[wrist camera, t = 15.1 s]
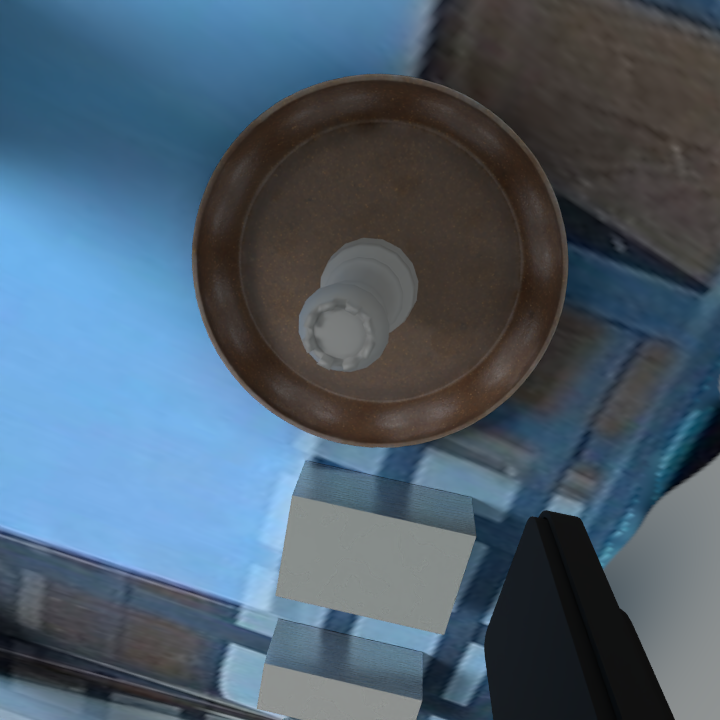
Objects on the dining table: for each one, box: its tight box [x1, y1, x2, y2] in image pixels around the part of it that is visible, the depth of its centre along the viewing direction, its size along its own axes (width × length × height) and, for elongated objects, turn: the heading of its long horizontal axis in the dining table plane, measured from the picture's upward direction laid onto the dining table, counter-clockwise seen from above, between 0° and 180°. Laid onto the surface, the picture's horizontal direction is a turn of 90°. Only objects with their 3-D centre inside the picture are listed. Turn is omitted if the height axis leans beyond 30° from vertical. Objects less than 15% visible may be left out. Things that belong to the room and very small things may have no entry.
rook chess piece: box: [299, 238, 418, 372], centre depth 23 cm, size 4×4×8 cm
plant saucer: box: [192, 74, 568, 447], centre depth 28 cm, size 18×18×3 cm
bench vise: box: [257, 461, 476, 720], centre depth 36 cm, size 21×10×4 cm, turn 169°
